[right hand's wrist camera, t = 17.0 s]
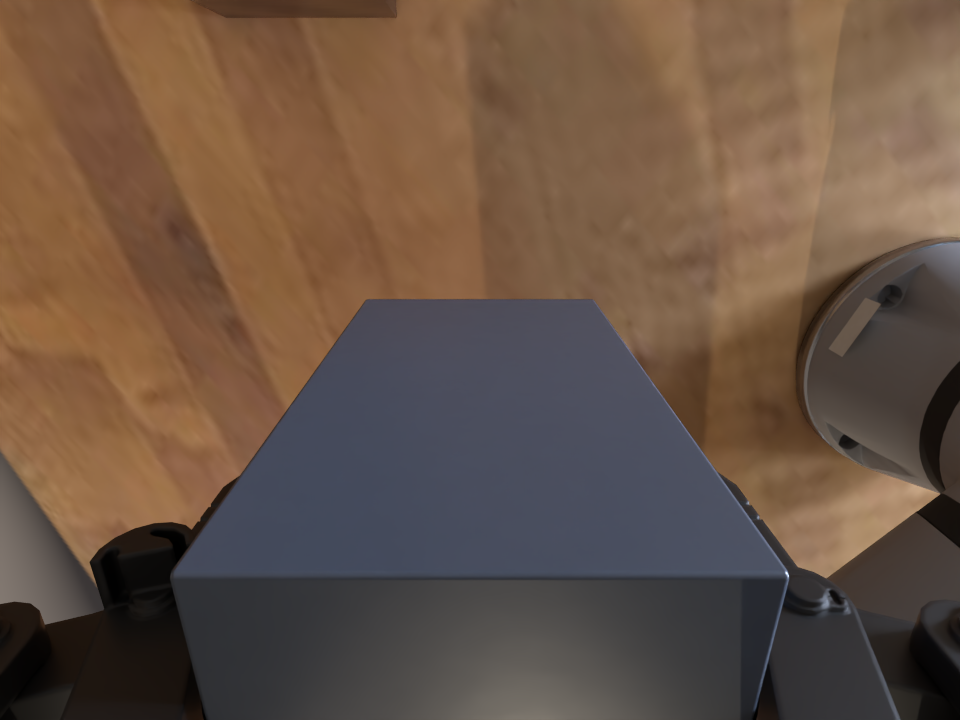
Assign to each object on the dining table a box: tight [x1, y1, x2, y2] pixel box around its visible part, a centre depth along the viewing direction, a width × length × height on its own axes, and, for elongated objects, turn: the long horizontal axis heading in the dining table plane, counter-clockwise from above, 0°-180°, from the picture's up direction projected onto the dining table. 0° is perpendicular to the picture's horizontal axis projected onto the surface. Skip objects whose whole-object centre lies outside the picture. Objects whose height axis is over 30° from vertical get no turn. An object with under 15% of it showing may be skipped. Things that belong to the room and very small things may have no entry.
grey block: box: [170, 299, 789, 720], centre depth 11 cm, size 6×6×10 cm
